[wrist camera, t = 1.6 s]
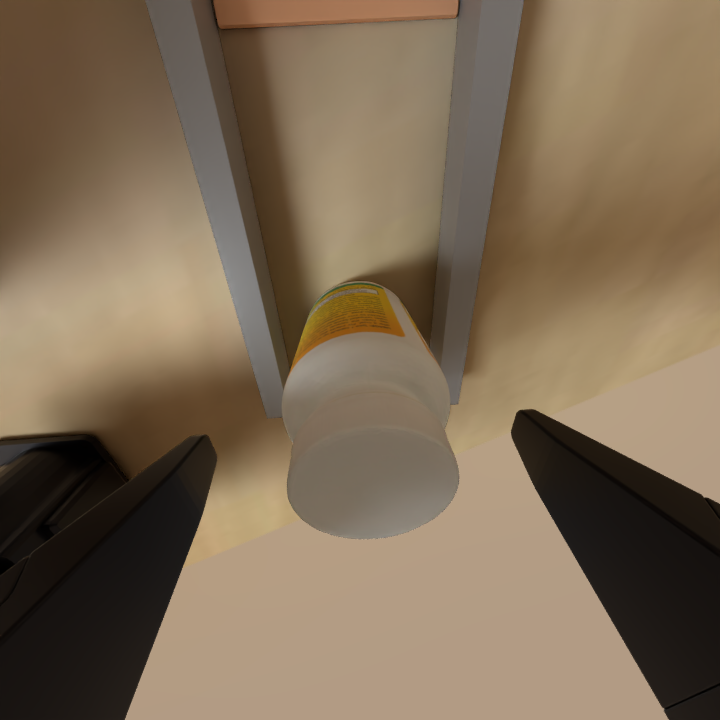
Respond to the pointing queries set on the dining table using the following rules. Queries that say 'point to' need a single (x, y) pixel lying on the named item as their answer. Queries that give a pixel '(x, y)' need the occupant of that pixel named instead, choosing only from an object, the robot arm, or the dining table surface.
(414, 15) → the guide channel
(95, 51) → the dining table surface
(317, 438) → the supplement bottle
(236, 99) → the dining table surface
